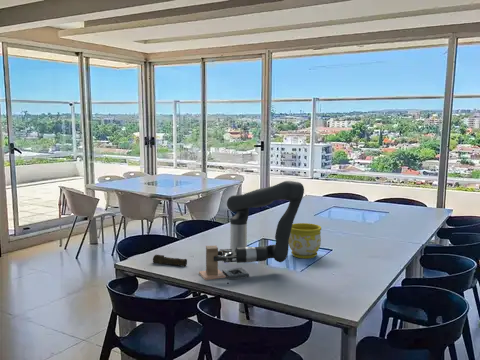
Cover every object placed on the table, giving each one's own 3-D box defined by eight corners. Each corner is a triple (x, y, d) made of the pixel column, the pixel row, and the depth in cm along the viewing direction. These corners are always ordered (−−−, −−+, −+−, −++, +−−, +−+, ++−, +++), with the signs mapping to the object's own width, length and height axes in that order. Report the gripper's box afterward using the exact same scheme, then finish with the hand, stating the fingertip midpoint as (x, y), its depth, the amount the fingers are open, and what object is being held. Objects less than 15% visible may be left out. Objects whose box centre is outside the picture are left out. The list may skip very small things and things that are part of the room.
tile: (199, 273, 220) (198, 271, 220) (218, 271, 224) (218, 269, 224) (204, 280, 211) (204, 277, 211) (225, 277, 215) (225, 275, 215)
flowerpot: (284, 257, 247) (284, 228, 245) (292, 249, 264) (293, 221, 262) (316, 261, 241) (317, 231, 239) (323, 253, 258) (324, 224, 256)
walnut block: (206, 272, 220) (206, 245, 218) (216, 271, 220) (216, 245, 219) (207, 275, 215) (207, 248, 213) (217, 274, 216) (217, 248, 214)
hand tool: (187, 265, 233) (187, 256, 233) (184, 267, 230) (184, 258, 229) (155, 261, 240) (155, 253, 240) (151, 263, 236) (151, 255, 236)
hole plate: (222, 272, 222) (222, 269, 221) (241, 270, 225) (241, 267, 225) (229, 279, 212) (229, 276, 212) (249, 276, 216) (249, 273, 216)
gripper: (243, 243, 226) (210, 244, 223) (248, 251, 212) (214, 252, 209) (242, 257, 227) (210, 259, 224) (248, 266, 213) (214, 268, 210)
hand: (212, 256), depth 217 cm, fingers open, 8 cm apart
